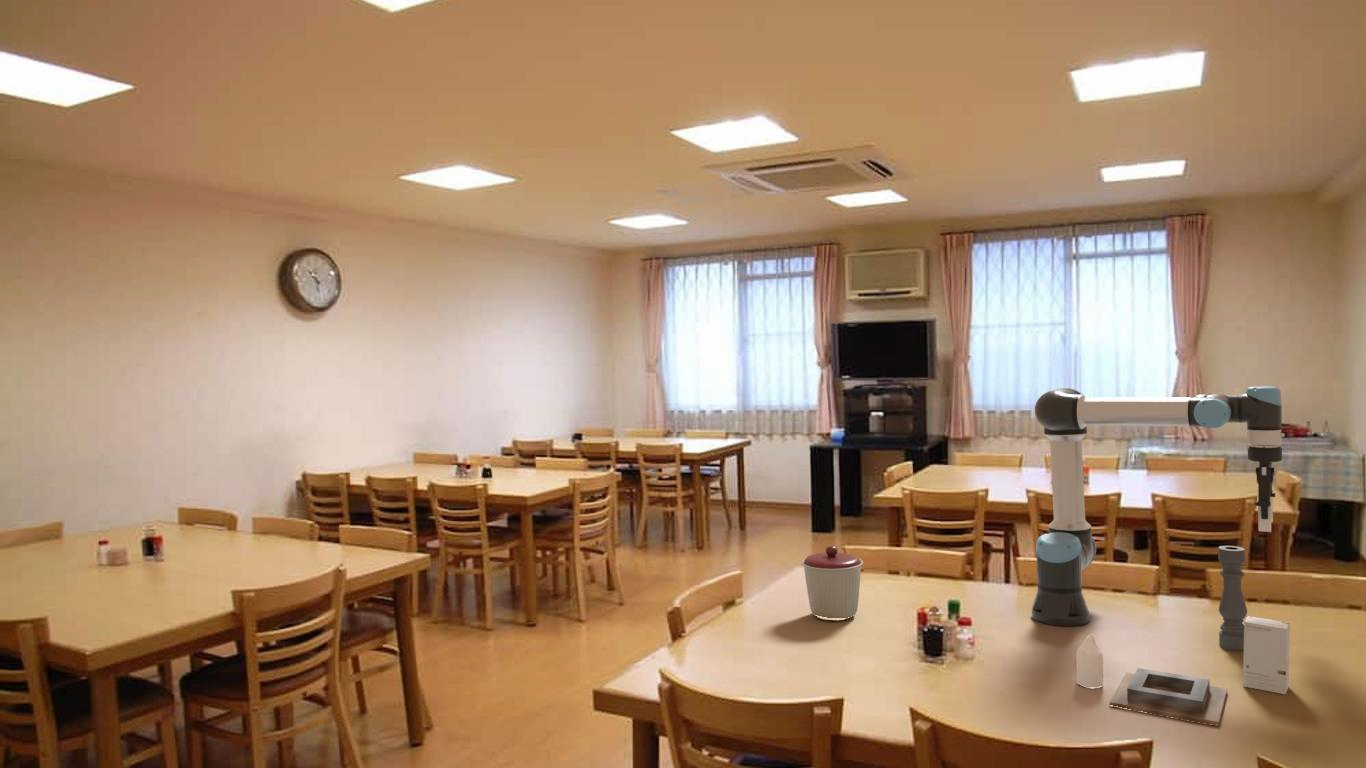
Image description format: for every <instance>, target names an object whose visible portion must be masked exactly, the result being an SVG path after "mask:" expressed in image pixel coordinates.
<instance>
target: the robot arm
mask: <svg viewBox="0 0 1366 768" xmlns="http://www.w3.org/2000/svg"><path fill="white" fill-rule="evenodd" d="M1281 397H1282V393H1281V389H1279V387H1277V386H1271V385H1270V386H1263V385H1260V386H1249V387H1247V388H1246V392H1245V393H1242V394H1224V393H1223V394H1217V393H1214V394H1212V393H1206V394H1197V395H1195V396H1194V397H1115V398H1114V397H1094V398H1093V397H1090V398H1089V397H1086V396H1085V394H1083V393H1082V392H1081V391H1079V390H1077V389H1074V388H1067V387H1063V388H1062V387H1061V388H1057V389H1053V390H1050V391H1047V392H1045V393H1043V394H1042V395H1040V397H1039V398H1038V399H1037V401H1036V402H1035V406H1034V414H1035V418H1036V420H1037V421H1038V423H1039V424H1040V425H1041V426H1042V427H1043V436H1045V437H1046V438H1047V439H1049V446H1050V449H1049V450H1050V464H1051V465H1050V466H1051V467H1050V468H1051V469H1050V470H1051V485H1052V486H1051V488H1052V491H1051V492H1052V507H1053V508H1052V510H1053V513H1052V514H1053V520H1052V521H1051V522H1050V523H1049V524H1048V533H1044V534H1042V535H1040V536H1039V537H1038V538H1037V539H1036V545H1035V556H1036V579H1037V582H1036V583H1037V590H1036V591H1037V592H1036V594H1035V597H1034V600H1033V603H1032V607H1031V617H1032V619H1033V620H1035V621H1037V622H1040V623H1043V624H1046V625H1051V626H1060V627H1076V626H1084V625H1086V624H1088V623H1089V622H1090V618H1091V616H1090V615H1091V614H1090V610H1089V607H1088V605H1087V602H1086V600H1085V597H1084V594H1083V576H1082V575H1083V573H1082V572H1083V570H1085V569H1086V568H1088V567H1089V566H1090V565H1091V564H1092V562H1093V561H1094V559H1095V557H1096V552H1097V545H1096V542H1095V540H1094V538H1093V534H1092V533H1093V532H1092V525H1091V524H1090V523H1089V522H1088V521H1087V520H1086V509H1085V507H1086V505H1085V487H1084V485H1085V482H1084V463H1083V462H1084V461H1083V444H1082V443H1083V438H1085V437H1086V435H1088V430H1087V429H1088V427H1087V426H1103V427H1104V426H1106V427H1107V426H1109V427H1110V426H1113V427H1115V426H1119V427H1123V426H1126V427H1127V426H1128V427H1129V426H1130V427H1131V426H1133V427H1192V428H1193V427H1195V428H1196V427H1197V428H1200V427H1203V428H1205V429H1206V428H1208V429H1218V428H1221V427H1223V426H1224V425H1226V424H1227V423H1228V424H1229V423H1232V424H1233V423H1234V424H1237V423H1242V424H1243V423H1246V425H1247V426H1246V443H1247V444H1248V447H1247V460H1248V461H1251V462H1258V463H1259V466H1256V467H1255V475H1256V484H1257V485H1258V487H1257V488H1258V490H1257V492H1258V501H1257V502H1254V505H1255V507H1257V510H1258V513H1257V516H1258V517H1257V518H1258V519H1257V521H1258V523H1257V524H1258V527H1257V528H1258V532H1265V533H1267V532H1268V533H1272V523H1273V522H1274V518H1273V517H1274V511H1273V510H1274V508H1273V507H1274V506H1273V504H1274V503H1273V499H1274V498H1276V492H1275V493H1274V491H1273V484H1274V475H1275V467H1272V465H1273V463H1279V462H1281V461H1282V460H1283V448H1282V446H1281V445H1282V444H1283V442H1282V438H1284V437H1286V436H1285V435H1286V434H1285V433H1284V432H1282V426H1283V425H1282V424H1283V423H1282V421H1283V420H1282V419H1283V418H1282V417H1283V415H1282V412H1283V411H1282V410H1283V409H1282V407H1283V405H1282V398H1281Z"/></svg>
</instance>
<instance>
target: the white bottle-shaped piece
mask: <svg viewBox="0 0 1366 768" xmlns="http://www.w3.org/2000/svg"><path fill="white" fill-rule="evenodd" d="M1075 665H1076V683H1077V682H1078V683H1079V684H1081V685H1083V686H1086V687H1099V686H1102V685H1103V686H1104V684H1103V683H1104V656H1103V653H1102V651H1101V649H1100V647H1099V646H1098V644H1097V643H1096V638H1095V635H1094V634H1093V633H1089V635H1087V637H1086V638H1085V639H1084V641H1083V642H1082V643H1081V644H1080V646H1079V647H1078V649H1077V650H1076V664H1075ZM1103 686H1102V687H1103Z"/></svg>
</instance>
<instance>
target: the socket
mask: <svg viewBox="0 0 1366 768" xmlns="http://www.w3.org/2000/svg"><path fill="white" fill-rule="evenodd" d="M1226 694H1227V695H1228V688H1224V687H1219V686H1213V685H1211V684H1210V679H1209V678H1203V677H1197V676H1189V675H1184V674H1177V673H1171V672H1166V671H1159V670H1153V669H1147V668H1139V667H1137V669H1136V671H1135V673H1132V672H1127V671H1126V672H1125V674H1124V675H1123V678H1122V679H1121V681H1120V682H1119V685H1117V688H1116V690H1115V692H1114V693H1113V695H1112V697H1111V699H1110V701H1109V706H1110V705H1113V706H1118V707H1122V708H1127V709H1131V710H1136V711H1143V712H1147V713H1152V714H1156V715H1155V716H1157V715H1162V716H1161V717H1163V716H1168V717H1173V718H1172V719H1174V718H1178V719H1177V720H1179V719H1183V720H1182V721H1184V720H1189V721H1188V722H1190V721H1194V722H1193V723H1195V722H1200V723H1199V724H1201V723H1206V724H1212V725H1217V726H1220V723H1221V719H1222V715H1221V714H1223V711H1224V707H1225V703H1226V699H1227V695H1226ZM1225 698H1226V699H1225ZM1224 702H1225V703H1224ZM1223 706H1224V707H1223ZM1131 710H1130V711H1131ZM1222 710H1223V711H1222ZM1136 711H1135V712H1136ZM1147 713H1146V714H1147ZM1152 714H1151V715H1152ZM1168 717H1167V718H1168ZM1220 718H1221V719H1220ZM1219 722H1220V723H1219ZM1206 724H1205V725H1206ZM1217 726H1216V727H1217Z"/></svg>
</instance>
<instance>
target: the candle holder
mask: <svg viewBox="0 0 1366 768" xmlns="http://www.w3.org/2000/svg"><path fill="white" fill-rule="evenodd" d="M1217 551H1218V553H1217V554H1218V561H1219V564H1220V565H1221V567H1222V569H1221V570H1220V571H1219V574H1220V575H1221V576H1222V577H1223V578H1222V580H1223V581H1222V584H1223V585H1222V586H1223V587H1222V593H1221V598H1220V601H1219V605H1218V612H1219V614H1220V616H1221V617H1222V620H1223V622H1222V624H1220V626H1219V628H1220V630H1219V632H1218V636H1219V638H1218V641H1219V643H1218V644H1219V647H1220V648H1222V649H1225V650H1228V651H1235V650H1236V651H1237V652H1244V651H1243V650H1244V622H1245V619H1246V618H1247V615H1248V608H1247V605H1246V601H1245V597H1244V594H1243V591H1242V578H1243V577H1244V576H1245V572H1243V570H1242V568H1243V567H1244V565H1245V563H1246V552H1245V551H1246V550H1245V548H1244V547H1241V546H1235V545H1219V546H1218V549H1217Z"/></svg>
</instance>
